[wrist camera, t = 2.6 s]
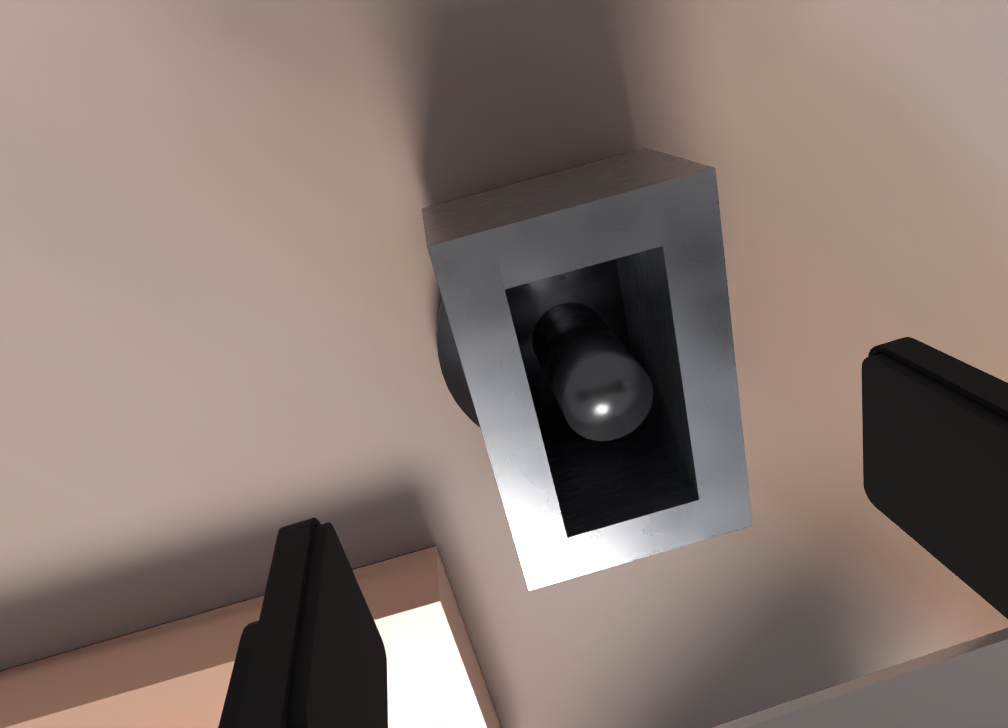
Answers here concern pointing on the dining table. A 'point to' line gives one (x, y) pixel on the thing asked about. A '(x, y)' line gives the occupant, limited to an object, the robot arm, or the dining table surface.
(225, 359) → the dining table surface
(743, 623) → the dining table surface
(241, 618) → the tray
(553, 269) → the frame
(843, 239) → the dining table surface
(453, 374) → the dark knobbed lid
